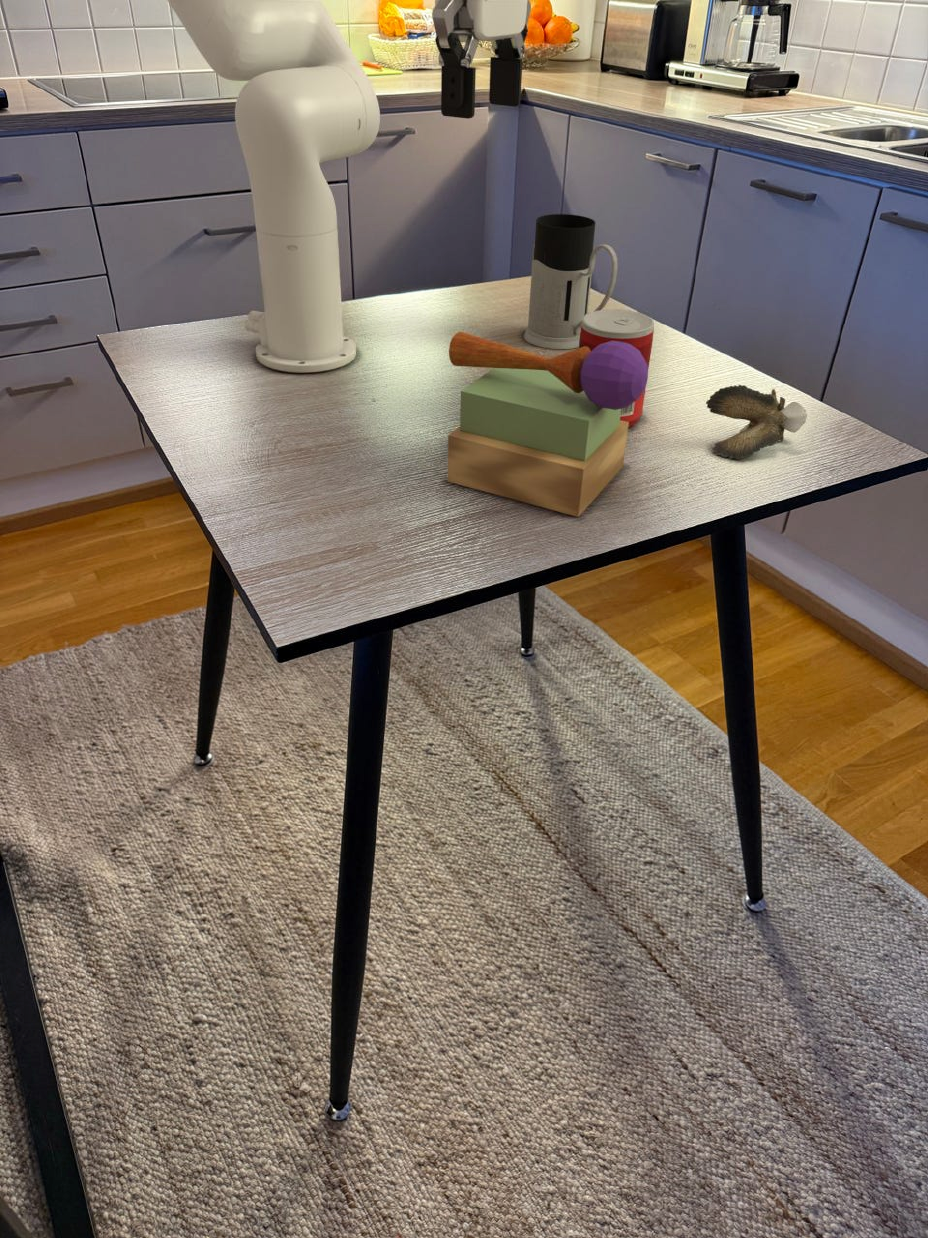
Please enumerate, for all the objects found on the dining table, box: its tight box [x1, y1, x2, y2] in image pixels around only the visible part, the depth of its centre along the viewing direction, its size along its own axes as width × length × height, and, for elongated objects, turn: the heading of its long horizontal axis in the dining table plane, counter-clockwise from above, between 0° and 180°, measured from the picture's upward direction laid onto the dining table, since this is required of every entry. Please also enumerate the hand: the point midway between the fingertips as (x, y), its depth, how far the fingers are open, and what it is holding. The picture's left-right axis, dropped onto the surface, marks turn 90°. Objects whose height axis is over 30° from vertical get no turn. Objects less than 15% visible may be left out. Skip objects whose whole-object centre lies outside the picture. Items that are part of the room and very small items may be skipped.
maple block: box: [446, 420, 629, 518], centre depth 93 cm, size 14×12×5 cm
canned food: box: [578, 308, 655, 428], centre depth 103 cm, size 8×8×11 cm
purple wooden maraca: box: [448, 331, 649, 410], centre depth 88 cm, size 6×6×20 cm
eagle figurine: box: [705, 384, 808, 459], centre depth 99 cm, size 8×7×9 cm
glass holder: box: [523, 213, 619, 350], centre depth 121 cm, size 9×14×15 cm, turn 36°
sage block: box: [459, 368, 621, 461], centre depth 90 cm, size 13×9×4 cm
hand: (482, 110), depth 89 cm, fingers open, 9 cm apart
